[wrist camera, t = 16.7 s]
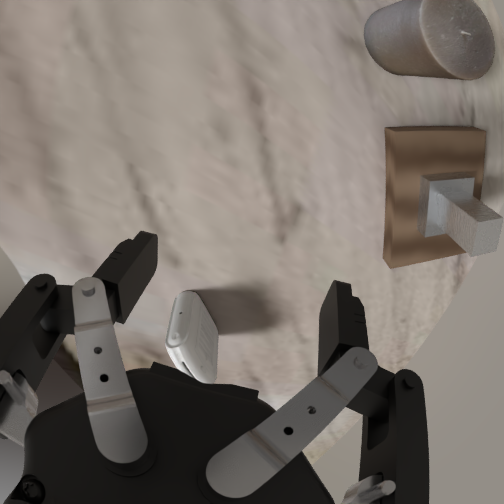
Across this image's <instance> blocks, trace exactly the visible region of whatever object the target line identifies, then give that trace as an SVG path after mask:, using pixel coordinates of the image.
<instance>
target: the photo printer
mask: <svg viewBox="0 0 504 504" xmlns="http://www.w3.org/2000/svg"><path fill="white" fill-rule="evenodd" d="M165 345H166V348H167V351H168V353H169V355H170V357H171V359H172V361H173V362H174V364H175V365H176V367H177V368H178V369H179V370H180V371H182V372H184V373H186V374H187V375H189V376H191V377H193V378H195V379H196V380H198V381H200V382H202V383H208V384H213V383H214V382H215V380H216V378H217V359H218V330H217V327H216V325H215V323H214V321H213V320H212V318H211V316H210V314H209V312H208V311H207V309H206V307H205V305H204V303H203V302H202V300H201V299H200V297H199V296H198V294H197V293H196V292H192V291H184V292H182V293H180V294H179V295H178V297H177V298H175V300H174V303H173V307H172V312H171V316H170V320H169V325H168V329H167V334H166V339H165Z"/></svg>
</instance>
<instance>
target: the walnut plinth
mask: <svg viewBox="0 0 504 504" xmlns="http://www.w3.org/2000/svg"><path fill="white" fill-rule="evenodd" d="M485 142H486V131H483V130H481V129H478V128H475V127H458V126H415V127H386V128H385V146H386V207H385V231H384V248H383V259H384V261H385V262H386V263H387V265H388V266H389V268H390V269H392V268H397V267H402V266H407V265H411V264H416V263H421V262H426V261H430V260H435V259H440V258H444V257H449V256H453V255H458V254H462V253H467V252H466V251H465V250H463V249H462V248H461V247H460V246H459V245H458V244H457V243H456V242H455V241H454V240H453V239H452V238H451V237H450V236H449V235H448V234H441V235H435V236H430V237H424V236H423V235H422V234H421V233H420V232H419V231H418V230H417V219H418V207H419V193H420V175H428V174H441V173H454V172H466V173H467V174H469V175H471V176H473V177H474V178H475V179H474V188H473V196H474V197H475V198H476V199H478V200H479V201H480V197H481V189H482V181H483V171H484V158H485Z"/></svg>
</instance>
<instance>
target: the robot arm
mask: <svg viewBox="0 0 504 504" xmlns="http://www.w3.org/2000/svg"><path fill="white" fill-rule="evenodd" d="M157 261H158V237H157V235H156V234H153V233H149V232H145V231H140V232H139V233H138V234H137V236H136V237H135V238H134V239H133V240H132V239H127V240H125V241H123V242H121V243H120V244H119V245H118V246H117V247H116V248H115V249H114V250H113V252H112V253H111V254H110V255H109V257H108V258H107V259H106V260H105V261H104V262H103V264H102V265H101V266H100V267H99V269H98V270H97V271H96V272H95V274H94V275H93V276H92V277H86V278H82V279H80V280H78V281H77V282H76V283H75V284H74V285H73V286H70V285H57V284H56V280H55V278H54V277H53V276H52V275H49V274H39V275H36V276H34V277H33V278H32V279H30V281H29V282H28V283H27V284H26V285H25V287H24V288H23V289H22V291H21V292H20V293H19V294H18V296H17V297H16V298H15V300H14V301H13V302H12V303H11V305H10V306H9V308H8V309H7V310H6V312H5V313H4V314H3V316H2V317H1V318H0V438H2V439H8V438H9V439H11V440H13V441H14V442H16V443H18V444H20V445H21V446H23V447H24V451H25V462H24V470H23V475H22V478H21V480H20V482H19V483H18V485H17V486H16V487H15V489H14V490H13V491H12V493H11V494H10V495H9V496H8V497H7V499H6V500H5V501H4V503H3V504H335V503H334V500H333V498H332V497H331V495H330V493H329V492H328V490H327V489H326V487H325V486H324V484H323V483H322V482H321V480H320V478H319V477H318V475H317V474H316V472H315V471H314V469H313V467H312V466H311V464H310V463H309V461H308V460H307V458H306V456H305V455H304V453H303V452H302V450H303V449H304V448H305V447H306V446H307V445H308V444H309V443H310V442H311V441H312V440H313V439H314V438H315V437H316V436H317V435H318V434H319V433H320V432H321V431H322V430H323V429H324V428H325V427H326V426H327V425H328V424H329V423H330V422H331V421H332V420H333V419H334V418H335V417H336V416H337V415H338V414H339V413H340V412H341V411H342V410H343V409H344V408H345V407H347V408H349V409H351V410H354V411H356V412H358V413H360V414H362V415H363V427H362V445H361V460H360V472H359V482H358V483H356V484H354V485H352V486H350V487H349V488H348V490H347V491H346V493H345V496H344V499H343V501H342V503H341V504H429V448H428V431H427V419H426V407H425V398H424V389H423V383H422V380H421V379H420V377H419V376H418V375H417V374H416V373H415V372H413V371H411V370H408V369H402V370H400V371H398V372H397V373H396V374H394V373H392V372H390V371H388V370H385V369H383V368H381V367H380V366H379V365H378V362H377V359H376V357H375V356H374V355H373V353H371V352H370V351H369V344H368V335H367V327H366V319H365V311H364V306H363V304H362V303H361V301H360V299H359V298H358V297H354V296H352V289H351V284H349V283H345V282H341V281H337V280H334V281H333V282H332V285H331V287H330V289H329V291H328V293H327V296H326V298H325V300H324V302H323V304H322V307H321V310H320V316H319V351H318V376H317V377H316V378H315V379H314V380H313V381H311V382H310V383H309V384H308V385H307V386H306V387H305V388H303V389H302V390H301V391H300V392H299V393H298V394H296V395H295V396H294V397H293V398H292V399H290V400H289V401H288V402H287V403H286V404H284V405H283V406H282V407H281V408H280V409H278V410H277V411H276V410H275V409H274V408H272V407H271V406H270V405H269V404H267V403H266V402H264V401H262V400H261V399H259V398H258V393H259V391H258V390H254V389H249V388H245V387H241V386H237V385H233V384H208V383H202V382H200V381H198V380H196V379H195V378H193V377H191V376H189V375H187V374H186V373H184V372H182V371H180V370H179V369H175V368H172V367H169V366H166V365H163V364H160V363H157V362H153V364H152V366H151V368H138V369H132V370H128V371H126V372H125V368H124V365H123V361H122V358H121V354H120V350H119V347H118V343H117V339H116V335H115V331H114V327H113V325H114V323H115V322H119V323H122V324H124V323H125V321H126V320H127V318H128V316H129V314H130V313H131V311H132V309H133V308H134V306H135V304H136V303H137V301H138V299H139V298H140V296H141V295H142V293H143V291H144V290H145V288H146V286H147V285H148V283H149V282H150V280H151V278H152V277H153V275H154V273H155V271H156V268H157ZM67 334H73V335H75V340H76V347H77V354H78V360H79V366H80V371H81V376H82V382H83V386H84V391H85V392H83V393H81V394H79V395H76V396H74V397H73V398H70V399H68V400H66V401H64V402H62V403H60V404H58V405H56V406H53V407H51V408H49V409H47V410H45V411H43V412H41V413H39V414H38V415H37V416H36V410H37V407H38V398H37V395H36V394H35V391H36V389H37V388H38V386H39V384H40V382H41V380H42V378H43V376H44V374H45V372H46V370H47V369H48V367H49V365H50V363H51V361H52V359H53V358H54V356H55V354H56V352H57V351H58V349H59V347H60V345H61V344H62V342H63V340H64V338H65V337H66V335H67Z"/></svg>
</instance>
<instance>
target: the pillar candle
mask: <svg viewBox="0 0 504 504" xmlns="http://www.w3.org/2000/svg"><path fill="white" fill-rule="evenodd" d="M364 38H365V44H366V47H367V49H368V51H369V53H370V55H371V56H372V58H373V59H374V60H375V62H376V63H377V64H378V65H379V66H381V67H382V68H383V69H385V70H386V71H388V72H390V73H392V74H395V75H409V76H421V77H436V78H448V79H461V80H473V79H477V78H480V77H482V76H483V75H484V74H485V73H486V72H487V71H488V70H489V68H490V66H491V65H492V62H493V57H494V52H495V46H494V37H493V33H492V30H491V27H490V25H489V22H488V20H487V18H486V17H485V15H484V14H483V12H482V11H481V9H480V8H479V7H478V6H477V4H476V3H475V2H474V1H473V0H402V1H399V2H396V3H394V4H391V5H389V6H387V7H384V8H381V9H379V10H377V11H376V12H374V13H373V14H372V15H371V16H370V17H369V19H368V21H367V23H366V25H365V30H364Z"/></svg>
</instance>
